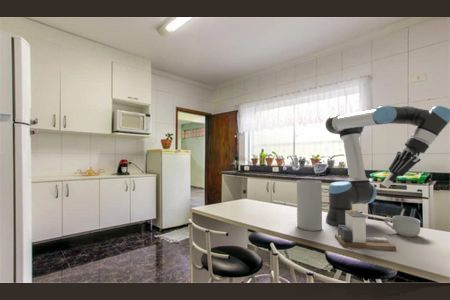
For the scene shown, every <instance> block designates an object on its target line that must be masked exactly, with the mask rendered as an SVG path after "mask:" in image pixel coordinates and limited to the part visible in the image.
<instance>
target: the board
mask: <svg viewBox="0 0 450 300" xmlns="http://www.w3.org/2000/svg"><path fill="white" fill-rule="evenodd" d="M366 237H381V238H384V237H382V236H378V235H377V236H376V235H366ZM334 238H335V240H337V242H338V243H339V244H340V245H341V246H342V247H343V248H348V247H351V248H352V249H364V248H370V249H369V250H379V249H383V250H382V251H394V250H395V251H397V246H396V245H394V244H393V243H391V242H390V241H389V243H387V242H370V241H366V243H361V242H344V241H343V240H341V239H340V238H339V236H338V233H334Z"/></svg>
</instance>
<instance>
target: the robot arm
mask: <svg viewBox="0 0 450 300" xmlns="http://www.w3.org/2000/svg"><path fill="white" fill-rule="evenodd" d="M449 123H450V108H448V107H445V106H442V105H435V106H433V107H431V108H430V110H429V109H422V108H418V107H415V106H414V107H413V106H410V105H409V106H407V105H404V106H391V105H380V106H378V107H377V108H375V109H370V110H364V111H360V112H355V113H350V114H345V115H342V114H337V115H336V114H335V115H334V114H333V115H331V116H329V117H328V118H327V119H326V121H325V129H326V131H328V132H329V133H330V134H334V135H339V139H340V140H342V141H343V146H344V153H345V160H346V166H347V173H348V176H349V177H348V180H347V181H345V180H344V181H334V182H331V183H330V184H329V186H328V211H327V214H326V216H325V222H326V223H327V224H328V225H332V226H335V227H338V225H345V226H346V220H345V210H347V211H349V210H352V209H353V205H366V204H371V203H373V202H374V201H375V200H376V198H377V195H378V194H377V192H378V191H377V188H376V186H375V185H374V184H372V183H371V180H370V179H369V178H367V176H366V171H365V170H366V169H365V164H364V158H363V153H362V148H361V143H360V137H361V136H362V133H363V131H364V128H365V127H371V126H378V125H387V124H390V125H391V124H395V125H396V124H397V125H411V126H415V127H416V128H415V130H414V131H413V132H412V133H411V135H410V137H408V139H407V140H406V142H405V143H404V145H405V148H404V149H403V150H402V151H400V150H398V151H397V152H396V156H395V158H394V159H393V160H392V163H391V165H390V166H389V167H388V171H389V173H388V174H387V176H386V177H385V178H384V180H383V181H382V182H381V185H382V186H384V187H385V188H388V189H389V188H390V187H391V185H393V183H394V182H395V180H396V179H397V178H398V177H404V175H406V173H407V172H408V171H410V170H411V169H412V168H413V167H414V166H415V165H416V164H418V163H420V162H421V160H422V159H421V158H419V156H420V155H421V154H424V153H425V152H427V150H428V149H429V148H430V145H432V143H434V141H435V140H436V139H437V137H438V136H439V135H440V133H441V132H442V131H443V130H444V129H445V128H446V126H447V125H448V124H449ZM352 211H353V210H352Z"/></svg>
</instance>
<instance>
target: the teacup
mask: <svg viewBox="0 0 450 300" xmlns="http://www.w3.org/2000/svg"><path fill="white" fill-rule="evenodd" d="M388 220H390V221H391V223H392V224H389V223H388ZM384 223H385V225H386V226H388V227H389V228H391V229H392V230H394V231H395V232H396V233H397V234H398V235H400V236H402V237H406V238H414V237H417V236H418V235H420V233H421V220H420V219H418V218H415V217H413V216H406V215H394V216H392V217H390V216H386V217H385V218H384Z"/></svg>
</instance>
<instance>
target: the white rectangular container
mask: <svg viewBox="0 0 450 300" xmlns="http://www.w3.org/2000/svg"><path fill="white" fill-rule="evenodd" d="M366 219H367V215H365V214H363V213H362V212H359V211H358V210H349V211H347V210H345V220H346V226H347V227H348V228H349V229H350V230H351V234H352V242H361V243H366V236H367V231H366V230H367V225H366V222H367V221H366Z"/></svg>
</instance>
